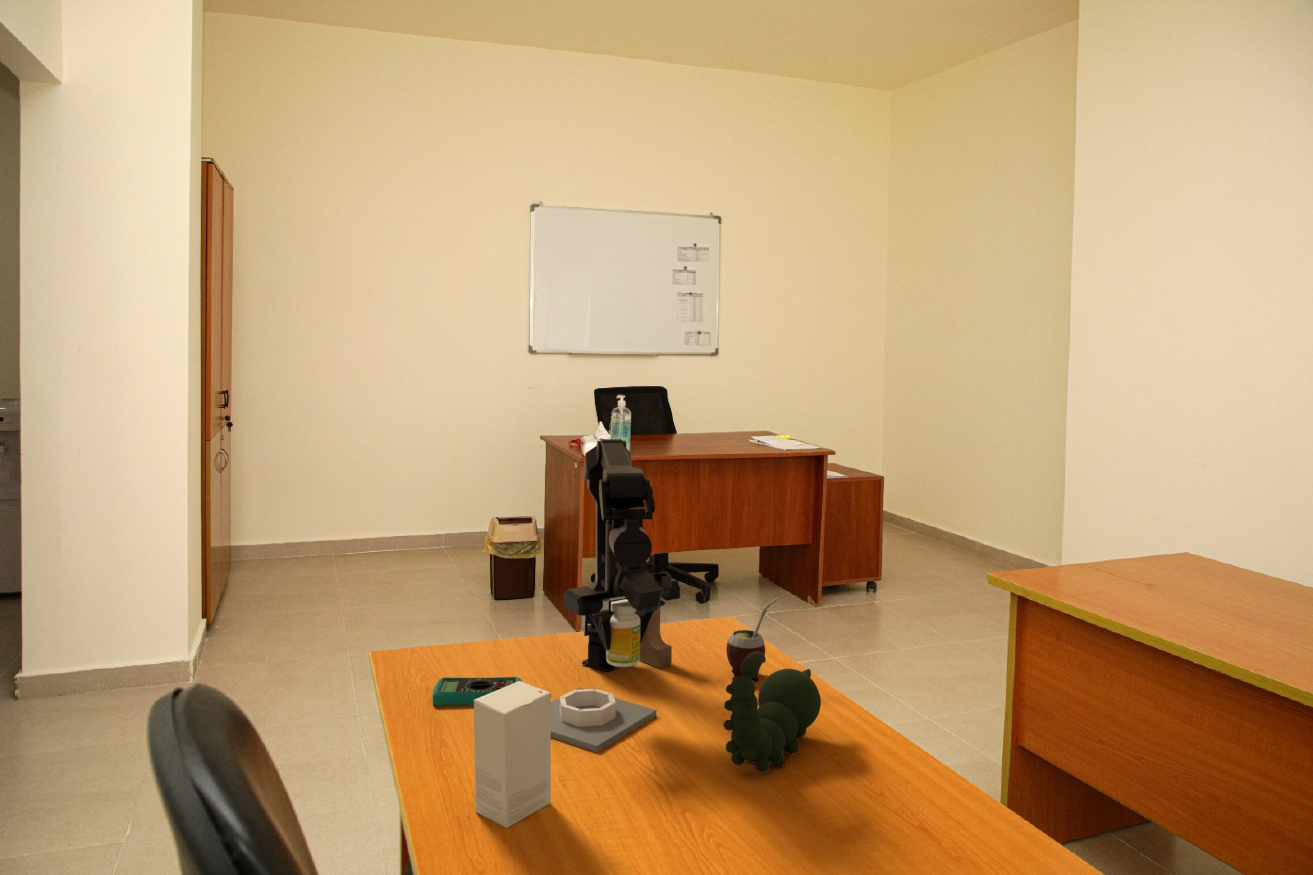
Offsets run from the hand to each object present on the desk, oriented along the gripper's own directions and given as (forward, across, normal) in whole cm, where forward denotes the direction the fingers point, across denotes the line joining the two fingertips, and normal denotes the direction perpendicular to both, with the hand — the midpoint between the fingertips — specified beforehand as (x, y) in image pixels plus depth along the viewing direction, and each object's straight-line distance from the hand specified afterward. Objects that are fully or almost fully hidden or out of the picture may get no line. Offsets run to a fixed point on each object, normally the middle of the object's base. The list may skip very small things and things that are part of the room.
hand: (622, 646), depth 145 cm
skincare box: (+12, -26, -16) cm, 33 cm away
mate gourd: (+13, +29, +4) cm, 32 cm away
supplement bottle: (+3, 0, 0) cm, 3 cm away
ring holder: (+12, -5, +3) cm, 13 cm away
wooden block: (+13, +18, +19) cm, 29 cm away
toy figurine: (+12, +14, -22) cm, 28 cm away
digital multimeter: (+13, -16, +21) cm, 29 cm away
